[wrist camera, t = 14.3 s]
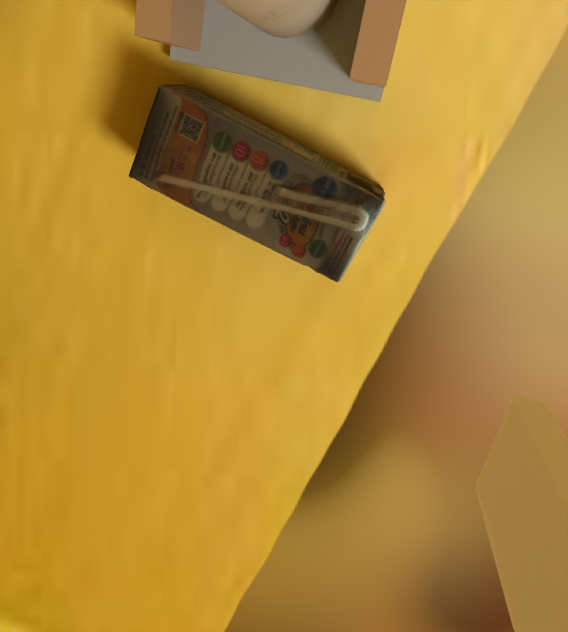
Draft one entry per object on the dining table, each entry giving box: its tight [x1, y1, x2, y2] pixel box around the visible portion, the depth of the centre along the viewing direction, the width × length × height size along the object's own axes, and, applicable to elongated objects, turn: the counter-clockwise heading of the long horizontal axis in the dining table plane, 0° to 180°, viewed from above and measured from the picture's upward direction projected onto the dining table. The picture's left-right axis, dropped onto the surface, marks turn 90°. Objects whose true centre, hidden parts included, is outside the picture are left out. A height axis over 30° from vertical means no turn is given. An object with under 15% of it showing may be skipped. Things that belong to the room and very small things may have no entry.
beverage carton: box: [129, 85, 385, 282], centre depth 43 cm, size 8×19×7 cm, turn 64°
